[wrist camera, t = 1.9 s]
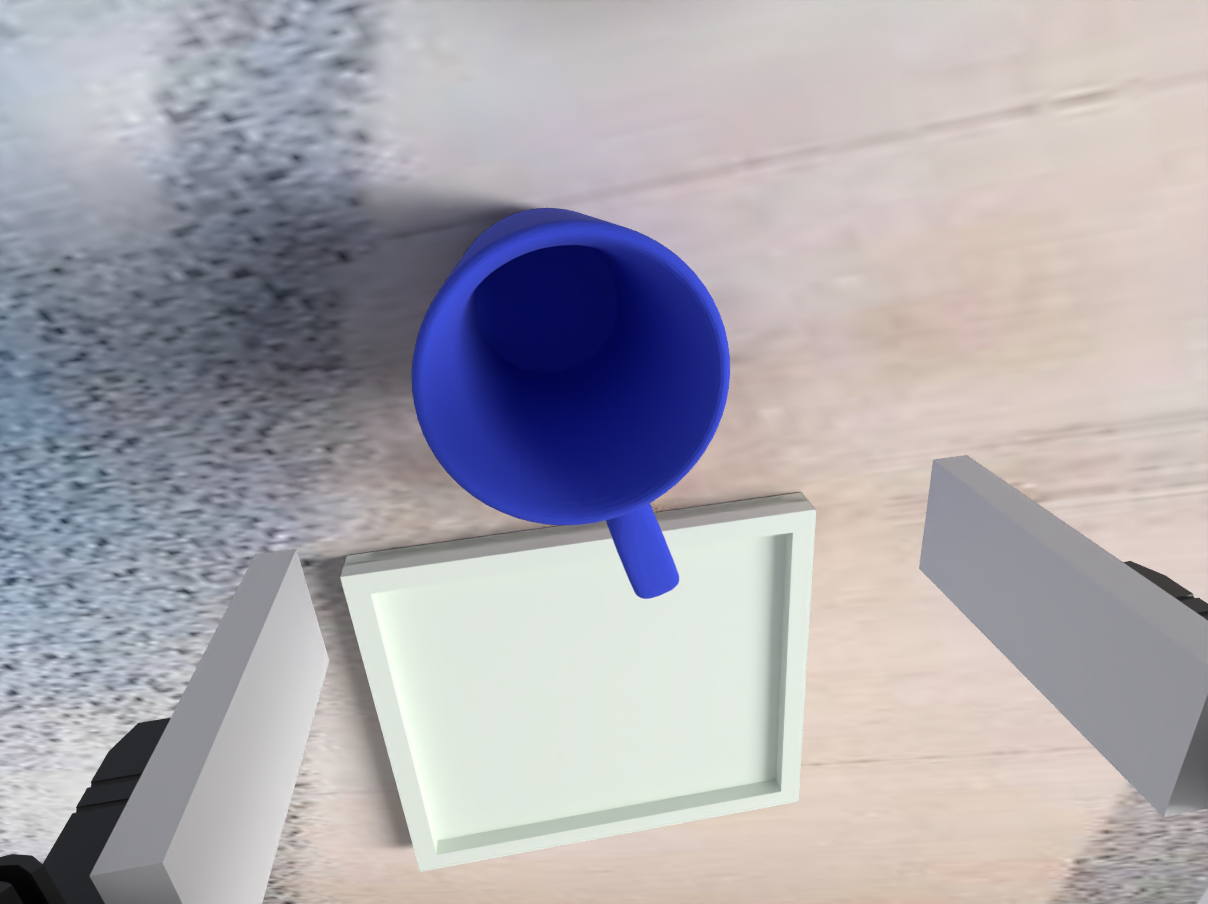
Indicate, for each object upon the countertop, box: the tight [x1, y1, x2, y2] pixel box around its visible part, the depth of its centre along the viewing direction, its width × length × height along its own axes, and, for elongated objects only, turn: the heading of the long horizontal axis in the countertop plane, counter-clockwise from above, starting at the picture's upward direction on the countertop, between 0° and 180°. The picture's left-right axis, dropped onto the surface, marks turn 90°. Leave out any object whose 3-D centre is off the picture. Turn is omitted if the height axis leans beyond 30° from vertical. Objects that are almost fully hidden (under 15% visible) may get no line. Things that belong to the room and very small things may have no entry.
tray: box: [340, 492, 816, 872], centre depth 35 cm, size 18×20×2 cm
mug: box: [412, 208, 730, 599], centre depth 24 cm, size 8×12×10 cm
